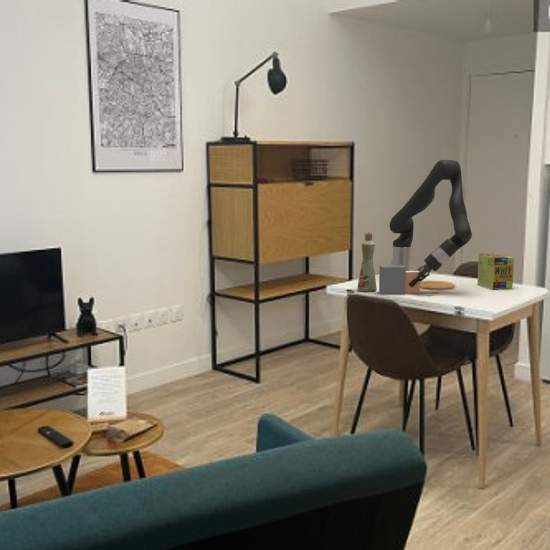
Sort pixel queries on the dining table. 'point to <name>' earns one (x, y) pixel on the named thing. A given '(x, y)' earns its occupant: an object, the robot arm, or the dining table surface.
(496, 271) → the protein box
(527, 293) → the dining table surface
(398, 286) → the block
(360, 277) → the bottle
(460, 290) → the dining table surface
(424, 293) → the mat
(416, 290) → the book
